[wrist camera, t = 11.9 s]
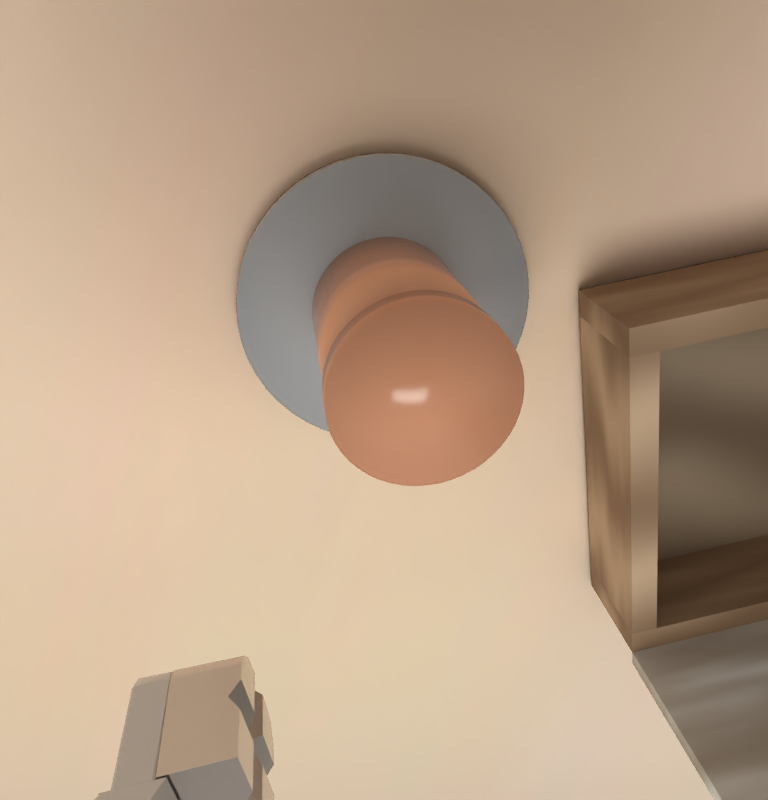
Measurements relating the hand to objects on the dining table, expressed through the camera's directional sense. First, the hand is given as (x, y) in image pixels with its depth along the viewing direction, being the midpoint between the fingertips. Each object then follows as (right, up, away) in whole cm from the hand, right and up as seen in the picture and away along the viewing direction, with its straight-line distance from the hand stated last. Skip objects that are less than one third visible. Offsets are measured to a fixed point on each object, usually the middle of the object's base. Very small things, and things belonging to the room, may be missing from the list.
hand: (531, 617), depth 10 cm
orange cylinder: (-2, +6, +14) cm, 15 cm away
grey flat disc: (-2, +6, +14) cm, 16 cm away
